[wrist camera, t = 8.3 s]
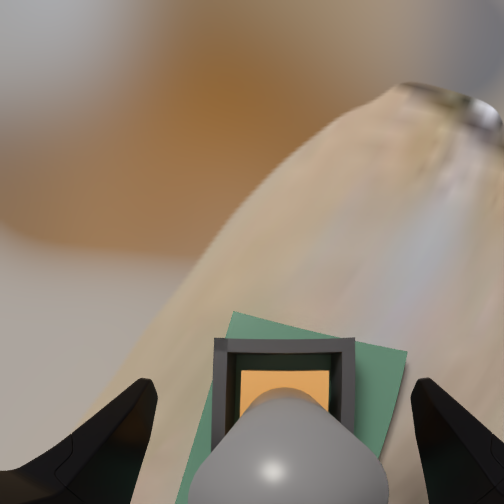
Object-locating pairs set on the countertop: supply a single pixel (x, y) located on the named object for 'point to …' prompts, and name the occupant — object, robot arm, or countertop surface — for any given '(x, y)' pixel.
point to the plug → (288, 449)
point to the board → (366, 369)
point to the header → (229, 347)
